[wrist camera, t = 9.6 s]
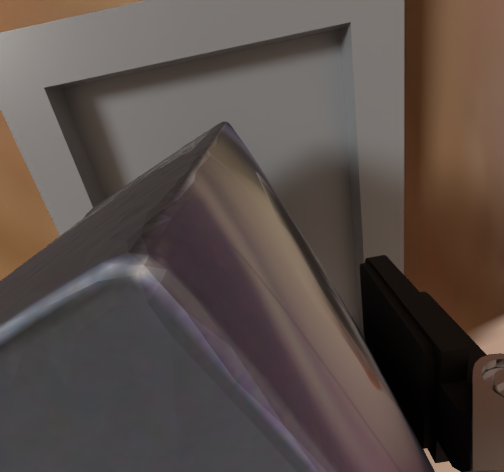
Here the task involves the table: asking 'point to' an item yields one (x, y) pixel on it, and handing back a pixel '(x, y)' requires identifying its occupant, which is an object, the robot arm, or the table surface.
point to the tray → (224, 109)
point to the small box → (190, 338)
